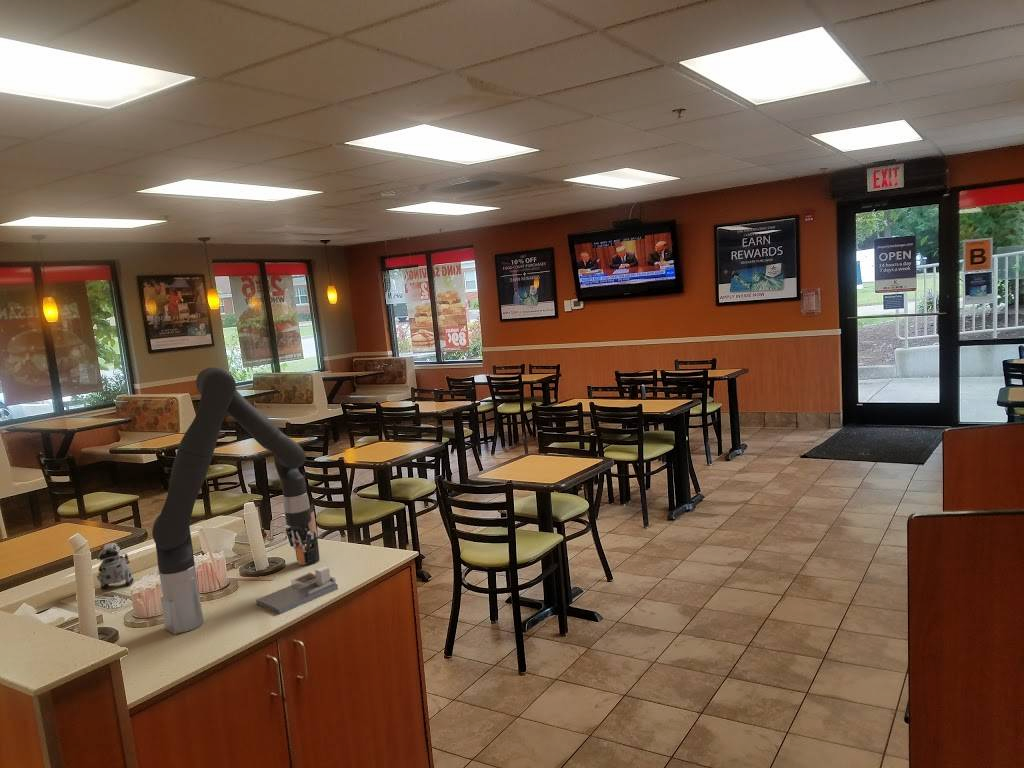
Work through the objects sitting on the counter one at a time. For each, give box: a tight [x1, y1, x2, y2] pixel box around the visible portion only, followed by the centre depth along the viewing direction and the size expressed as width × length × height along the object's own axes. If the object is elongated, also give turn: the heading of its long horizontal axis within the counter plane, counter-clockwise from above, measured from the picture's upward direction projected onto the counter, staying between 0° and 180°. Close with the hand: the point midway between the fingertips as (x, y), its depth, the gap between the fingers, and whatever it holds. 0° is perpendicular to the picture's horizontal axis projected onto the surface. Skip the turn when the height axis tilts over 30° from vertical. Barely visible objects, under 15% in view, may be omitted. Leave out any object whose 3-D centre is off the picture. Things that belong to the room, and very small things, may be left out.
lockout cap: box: [295, 544, 306, 566], centre depth 223 cm, size 4×4×6 cm
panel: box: [255, 572, 339, 615], centre depth 218 cm, size 20×13×3 cm, turn 138°
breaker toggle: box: [314, 566, 331, 586], centre depth 222 cm, size 3×3×5 cm
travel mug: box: [301, 502, 321, 567], centre depth 247 cm, size 8×8×20 cm
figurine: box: [96, 542, 135, 591], centre depth 239 cm, size 9×12×15 cm
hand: (304, 561), depth 224 cm, fingers closed on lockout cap, 4 cm apart
